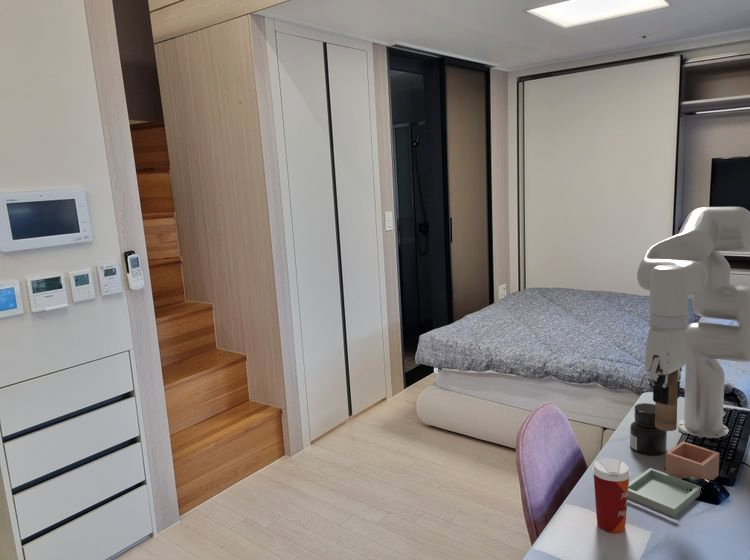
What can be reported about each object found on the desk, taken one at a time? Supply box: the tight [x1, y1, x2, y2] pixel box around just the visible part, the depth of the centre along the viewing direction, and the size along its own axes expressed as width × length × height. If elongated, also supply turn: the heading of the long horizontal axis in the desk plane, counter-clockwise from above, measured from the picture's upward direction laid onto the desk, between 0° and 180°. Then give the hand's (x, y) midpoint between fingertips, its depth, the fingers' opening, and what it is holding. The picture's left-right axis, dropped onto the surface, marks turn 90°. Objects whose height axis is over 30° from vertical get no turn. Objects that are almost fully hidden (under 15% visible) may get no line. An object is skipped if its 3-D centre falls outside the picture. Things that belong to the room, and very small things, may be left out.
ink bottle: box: [629, 402, 668, 457], centre depth 152 cm, size 10×9×12 cm
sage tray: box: [627, 467, 702, 520], centre depth 132 cm, size 13×12×2 cm
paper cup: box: [591, 458, 632, 534], centre depth 122 cm, size 8×8×14 cm
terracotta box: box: [665, 441, 720, 481], centre depth 138 cm, size 9×9×6 cm
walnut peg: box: [654, 370, 679, 432], centre depth 128 cm, size 4×4×13 cm
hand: (666, 398), depth 128 cm, fingers closed on walnut peg, 4 cm apart
